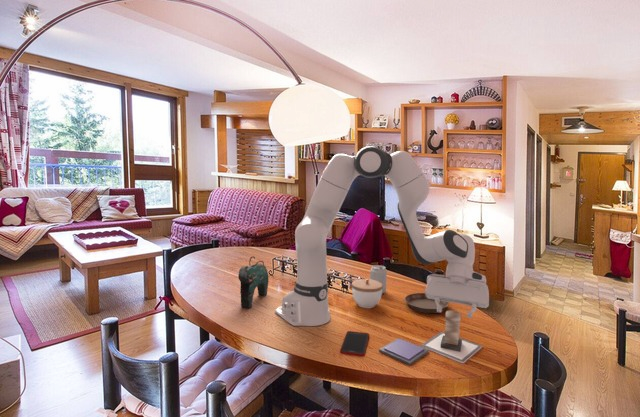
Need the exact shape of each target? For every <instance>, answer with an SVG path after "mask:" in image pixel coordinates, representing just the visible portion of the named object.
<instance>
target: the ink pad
mask: <svg viewBox="0 0 640 417" xmlns="http://www.w3.org/2000/svg"><path fill="white" fill-rule="evenodd" d="M378 351H379V353H382V354H384V355H386V356H388V357H390V358H393V359H395V360H397V361H399V362H402V363H404V364H406V365H408V366H412V364H414V363H415V362H417V361H418V360H420V359H421V358H422V357H424V356H425V355H427V354H428V353H429V351H430V350H428V349H426V348H423V347H421V345H418V344H415V343H412V342H410V341H407V340H405V339H403V338H400V337H398V338H396V339H395V340H392V341H391V342H389V343H388V344H386V345H384V346H382V347H380V348H379V349H378Z"/></svg>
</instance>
